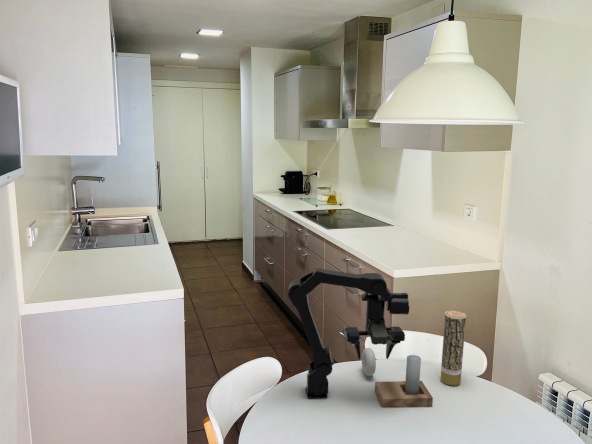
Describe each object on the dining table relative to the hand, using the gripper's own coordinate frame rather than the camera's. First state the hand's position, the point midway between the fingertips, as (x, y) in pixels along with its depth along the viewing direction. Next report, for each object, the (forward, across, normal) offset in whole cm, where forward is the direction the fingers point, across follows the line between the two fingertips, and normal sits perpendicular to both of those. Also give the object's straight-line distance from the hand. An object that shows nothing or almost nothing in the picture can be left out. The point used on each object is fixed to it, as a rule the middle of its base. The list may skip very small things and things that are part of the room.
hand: (373, 358), depth 161 cm
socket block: (+13, +10, -2) cm, 17 cm away
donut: (+13, +2, +14) cm, 19 cm away
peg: (+13, +13, -2) cm, 18 cm away
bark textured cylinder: (+13, +30, +8) cm, 34 cm away
